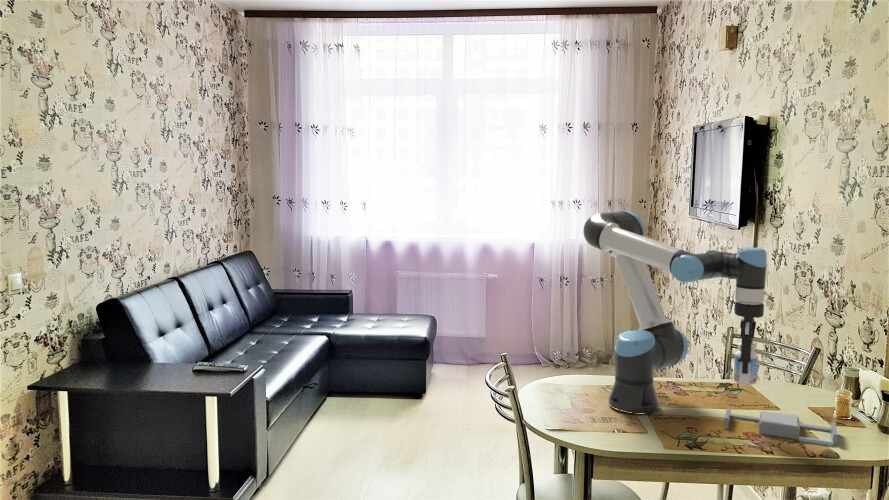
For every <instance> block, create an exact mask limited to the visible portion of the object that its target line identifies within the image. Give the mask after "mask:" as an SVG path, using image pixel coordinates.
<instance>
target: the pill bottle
mask: <svg viewBox="0 0 889 500" xmlns="http://www.w3.org/2000/svg"><path fill="white" fill-rule="evenodd" d="M741 345H742V341H740V342H738V344H737V348H738V350H737V351H735V353H734V367H733V381H734V382H736V383H737V384H739V375H740V362H739V361H738V359H740V358H741ZM756 349H757V345H756V344H755V343H753V342H752V343H751V358H750V359H751V368H750V384H749V386H750V385H755V384H757V382H758V363H759V355H758V353H757V352H756ZM746 358H747V357H746Z"/></svg>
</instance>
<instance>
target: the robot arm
mask: <svg viewBox="0 0 889 500" xmlns="http://www.w3.org/2000/svg"><path fill="white" fill-rule="evenodd" d="M645 232H646V229H645V224H644V222H643V220H642V219H641V218H640V216H638V215H637V214H636V213H634V212H631V211H622V210H621V211H615V212H614V211H613V212H598V213H595V214H592V215H591V216H590V217H588V219H587V220H586V221H585V223H584V226H583V236H584V239H585V241H586V243H588V244H589V245H590V246H591V247H593V248H596V249H598V250H600V251H602V252H603V251H604V252H606V253H609V257H612V258H615V259H616V262H617V265H618V268H619V270H620V273H621V277H622V278H623V281H624V284H625V287H626V291H627V294H628V295H629V299H630V302H631V304H632V308H633V310H634V312H635V316H636V319H637V321H638V323H639V327H638V329H635V330H627V331H624V332H622V333H619V335H618V336H616V340H615V345H614V352H615V353H614V357H615V360H614V361H615V362H614V363H615V364H614V366H615V367H614V368H615V369H614V383H613V386H612V388H611V391H610V392H609V396H608V405H609V404H610V405H611V406H612V407H614V408H617V409H619V410H623V411H627V412H632V413H650V414H653V413H652V412H654V413H655V411H656V412H657V410H659V409H658V408H659V406H660V405H659V404H660V403H659V401H660V400H659V398H658V395H657V392H656V389H655V385H654V374H655V373H654V372H655V371H657V370H661V369H665V368H671V367H674V366H676V365H677V364H680V363H681V362H682V361H684V359H685V358H686V356H687V354H688V351H689V344H688V343H689V342H688V340H687V338H686V337H687V336H685V334H684V332H682V331H680V329H679V328H678V329H677V328H675V325H674V323H673V320H672V319H668V318H667V317H666V315H665V312H664V309H663V307H662V304H661V301H660V299H659V297H658V293H657V290H656V288H655V285H654V282H653V279H652V277H651V275H650V274H651V273H650V271H649V269H648V266H651V267H653V268H657V269H659V270H662V271H664V272H667V273H670V274H672V277H674V278H675V280H676V281H679V282H682V283H693V282H696V281H698V282H699V281H702V280H709V279H710V280H711V279H717V278H724V279H731V280H735V283H736V284H735V295H734V297H735V298H734V299H735V300H736V301H735V302H734V314H735V315H736V316H738V317H742V318H743V320H741V319H740V325H739V327H740V338H741V342H742V345H741V358H740V359H738V361H739V362H740V375H739V383H738V385H749V384H750V368H751V359H750V358H751V343H753V339H754V338H755V331H756V327H757V321H755V319H754V318H756V319H759V318H762V317H764V311H765V305H764V302H765V296H767V295H768V292H767V291H765V289H766V275H767V266H768V263H767V260H768V259H767V258H768V257H767V254H768V253H767V251H766V249H764V248H761V247H751V246H750V247H749V246H748V247H747V246H744V247H740V248H738V250H737V252H735V253H734V252H726V251H719V250H717V249H716V250H714V249H713V250H707V249H706V250H702V251H701V252H700V253H692V252H689V251H686V250H683V249H681V248H678V247H675V246H673V245H670V244H666V243H663V242H661V241H658V240H656V239H655V240H654V239H652V238H649V237H647V236H645ZM647 265H648V266H647ZM746 357H747V358H746ZM749 386H750V385H749Z"/></svg>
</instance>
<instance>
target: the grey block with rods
mask: <svg viewBox="0 0 889 500" xmlns="http://www.w3.org/2000/svg"><path fill="white" fill-rule="evenodd" d="M731 410H732V408H731V407H726V411H725V415H724V421H723V422H724V424H723V425H724V426H723V428H724V429H725V430H726V429H727V430H728V429H729V425H730V422H731V419H732V418H733V419H738V420H745V421H752V422H758V434H759V435H765V436H766V435H767V436H771V437H778V438H786V439H791V440H798V441H799V442H803V443H810V444H816V445H823V446H830V447H834V446H838V436H839V434H838V431H837V430H838V428H837V424H836V422H835V421H831V422H830V427H828V426H822V425H821V426H820V425H814V424H808V423H801V422H800V417H799V416H798V415H795V414H788V413H781V412H773V411H767V410H761V411H760V413H759V417H758V416H751V415H745V414H740V413H739V414H737V413H732V411H731ZM800 429H807V430H814V431H819V432H820V431H821V432H827V433H830V438H831V441H830V440H824V439H818V438H811V437H807V436H805V437H804V436H800Z"/></svg>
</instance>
